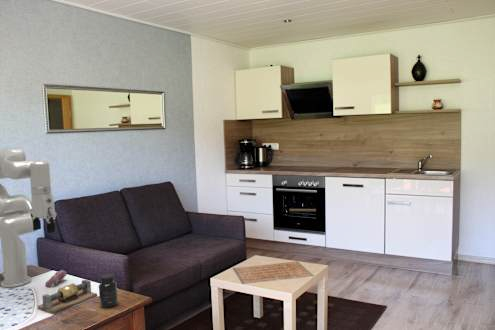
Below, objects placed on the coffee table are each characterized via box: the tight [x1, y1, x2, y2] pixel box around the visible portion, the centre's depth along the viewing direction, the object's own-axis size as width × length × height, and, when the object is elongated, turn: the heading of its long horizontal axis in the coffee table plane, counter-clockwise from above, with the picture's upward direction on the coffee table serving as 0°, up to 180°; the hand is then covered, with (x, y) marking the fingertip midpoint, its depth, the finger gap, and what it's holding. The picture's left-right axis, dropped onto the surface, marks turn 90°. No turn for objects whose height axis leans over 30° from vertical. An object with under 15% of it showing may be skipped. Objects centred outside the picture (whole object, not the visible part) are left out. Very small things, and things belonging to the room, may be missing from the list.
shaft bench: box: [37, 279, 98, 316], centre depth 179 cm, size 11×20×6 cm, turn 148°
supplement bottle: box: [98, 273, 119, 309], centre depth 175 cm, size 7×7×12 cm
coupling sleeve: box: [56, 283, 78, 300], centre depth 179 cm, size 6×5×5 cm
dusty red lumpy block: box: [44, 269, 68, 288], centre depth 202 cm, size 10×5×7 cm, turn 170°
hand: (44, 230), depth 185 cm, fingers open, 9 cm apart
